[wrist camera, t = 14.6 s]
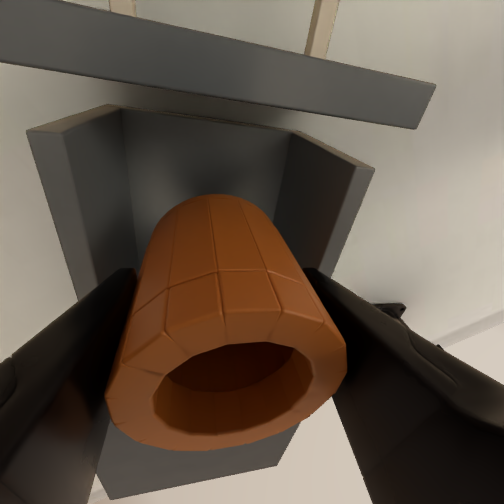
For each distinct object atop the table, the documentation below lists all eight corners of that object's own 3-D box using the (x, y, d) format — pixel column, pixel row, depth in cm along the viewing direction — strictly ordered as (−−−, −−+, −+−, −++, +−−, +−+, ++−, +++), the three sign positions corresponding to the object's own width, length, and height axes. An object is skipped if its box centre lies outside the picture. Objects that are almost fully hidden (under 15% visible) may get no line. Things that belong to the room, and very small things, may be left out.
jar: (289, 198, 10) (385, 304, 5) (267, 300, 13) (314, 433, 8) (143, 188, 9) (77, 318, 4) (153, 304, 11) (123, 466, 7)
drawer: (44, -169, 8) (-493, -1075, 2) (356, -57, 11) (588, -242, 4) (121, 278, 18) (84, 387, 12) (273, 276, 21) (309, 363, 14)
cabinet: (112, 255, 18) (51, 392, 10) (280, 256, 21) (333, 362, 13) (134, 372, 26) (109, 500, 18) (253, 361, 29) (277, 465, 21)
